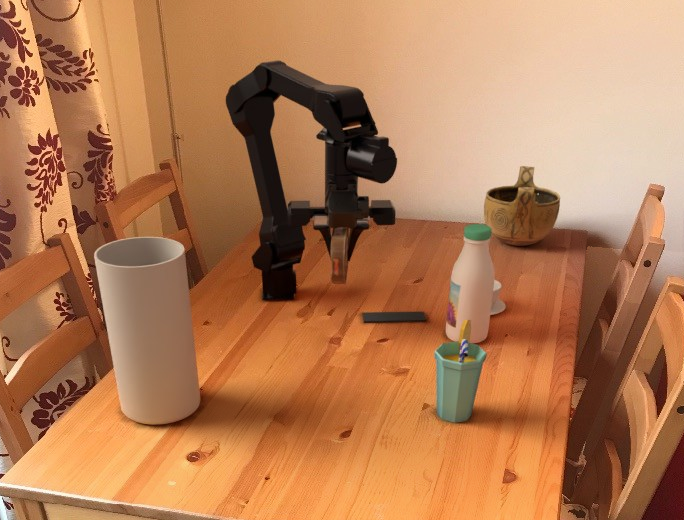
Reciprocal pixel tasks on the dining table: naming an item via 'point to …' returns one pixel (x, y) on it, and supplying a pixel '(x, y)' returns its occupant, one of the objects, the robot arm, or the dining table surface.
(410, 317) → the strip
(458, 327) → the milk bottle
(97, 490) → the dining table surface
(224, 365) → the dining table surface
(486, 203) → the ceramic bowl
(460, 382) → the cup
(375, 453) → the dining table surface
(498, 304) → the teacup
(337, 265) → the tin
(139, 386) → the cylinder vase
